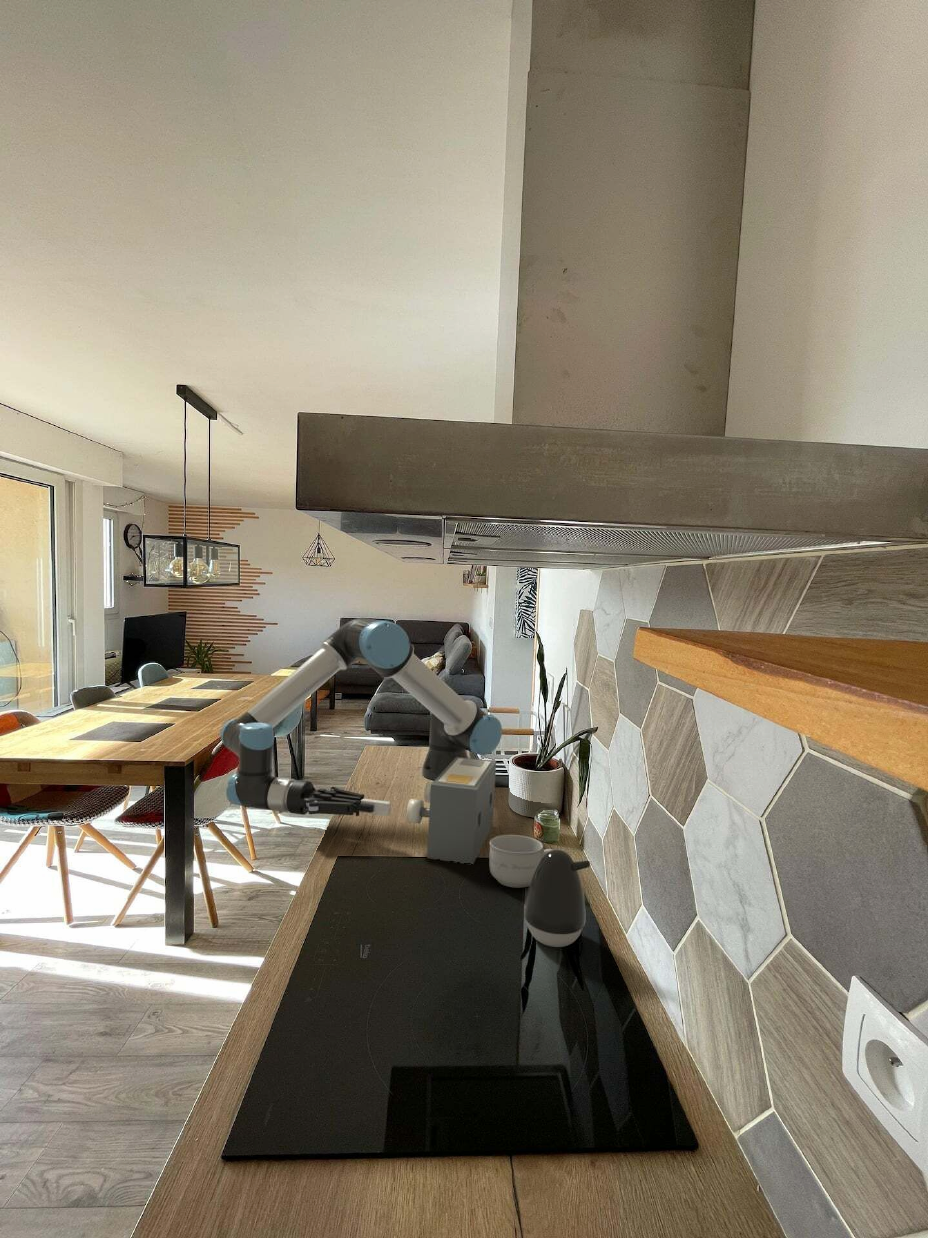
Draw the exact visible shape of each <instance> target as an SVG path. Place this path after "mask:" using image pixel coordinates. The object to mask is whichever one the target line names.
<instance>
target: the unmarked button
mask: <svg viewBox="0 0 928 1238" xmlns="http://www.w3.org/2000/svg"><path fill="white" fill-rule="evenodd" d="M433 782H434V781H431V780H428V781H427V782H426V783H425V787H424V793H423V794H424V795H423V798H424V799H423V801H424V802H425V803H428V804H430V792H431V784H432V783H433Z"/></svg>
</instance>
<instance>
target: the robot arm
mask: <svg viewBox="0 0 928 1238" xmlns="http://www.w3.org/2000/svg"><path fill="white" fill-rule="evenodd" d="M414 651H415V647H414V644H412V643H411V642H410V639H409V636H408V634H407V632H406V631H405V630H404V629H403V627H401V626H400V625H398V624H397V623H394V622H392V621H390V620H387V619H386V620H385V619H384V620H382V619H372V618H367V617H358V618H355V619H352V620H350V621H348V622H346V623H345V624H343V625H342V626H341V627H339V628H338V629H336V630H335V631H334V632H333V633H332V634H330V635H329V636H328V637H326V639H325V640H324V641H322V642H321V645H320V648H319V650H318V651H317V652H316V651H315V653H314V654H313V655H312V656H311V657H309V658H308V659H307V660H306V661H304V663H302V664H301V665H300V666H299V667H298V668H296V669H295V670H294V671H293V672H292V673H291V674H289V676H287V677H286V678H285V679H284V680H283V681H281V682H280V683H278V684H277V686H276V687H274V688H273V689H272V690H271V691H270V692H269V693H267V694H266V695H265V696H264V697H263V698H261V699H260V700H259V701H258V702H257V703H255V704H254V705H253V706H252V707H251V708H249V710H248V711H246V712H245V713H244V714H242V715H240V717H239V718H232V719H229V720H228V721H226V722H225V723H224V725H223V726H222V727H221V729H220V734H219V735H220V740H221V742H222V744H223V745H224V747H225V748H227V750H229V751H230V752H232V753H234V755H236V756H237V757H238V772H236V773H233V774H232V775H231V777H230V778H229V779H228V781H227V786H226V790H225V793H226V794H225V795H226V799H227V800H228V802H229V803H230V804H231V805H235V806H240V807H243V808H250V809H259V810H268V811H275V812H278V813H279V814H282V813H290V814H294V815H295V814H296V815H300V816H301V815H302V816H303V815H306V814H307V813H308V815H318V814H319V815H320V814H321V815H339V816H340V815H341V816H353V815H354V814H355V817H360V813H362V814H363V813H364V814H372V815H379V816H385V817H388V816H389V815H391V805H392V804H391V801H387V800H378V799H370V798H365V794H364V793H357V792H353V791H349V790H344V789H340V788H338V787H336V786H331V787H330V790H327V789H325V788H318V789H316V788H315V786H314V784H313V783H312V782H311V781H309V780H300V779H294V778H289V777H280V776H279V777H278V776H273V756H274V755H273V753H274V743H275V737H274V728H275V727H276V726H277V725H279V723H281V722H282V721H283V720H284V719H285V718H286V717H287V716H289V714H291V713H292V712H293V711H294V710H295V709H297V707H299V706H300V705H301V704H302V703H303V702H304V701H306V700H307V699H308V698H309V697H310V696H311V695H312V694H314V693H315V692H316V691H317V690H318V689H320V687H322V686H323V685H324V684H325V683H326V682H327V681H328V680H329V679H331V678H332V677H333V676H334V675H336V674H337V672H339V671H345V670H347V669H348V668H349V667H350V666H351V665H353V664H355V663H357V662H362V663H365V664H366V665H368V666H369V667H370V668H371V669H373V670H374V671H375V672H376V673H377V674H379V676H381V677H382V678H384V679H390V678H392V679H393V680H394V681H395V682H396V683H397V684H399V685H400V686H401V687H402V688H403V689H404V690H406V691H407V693H409V694H410V695H411V696H412V697H414V699H416V700H417V701H418V702H419V703H421V705H422V706H424V707H425V708H426V709H427V710H428V711H429V712H430V713H429V715H430V719H429V720H430V721H429V722H430V723H429V742H428V751H427V753H426V756H425V758H424V761H423V764H422V767H421V768H422V769H421V775H422V776H423V777H425V778H427V779H429V780H432V781H435V780H436V778H437V777H438V776H439V775H440V774H441V773H442V772H443V771H444V770H445V769H446V768H447V767H448V766H449V764H450V763H451V762H452V761H453V760H454V759H455V758H456V757H462V758H469V755H468V752H471V753H472V754H473V755H479V756H487V755H489V754H492V753H493V752H494V751H495V750H496V748H497V747H498V746H499V744H500V742H501V739H502V735H503V733H502V731H503V729H502V728H503V727H502V724H501V721H500V720H499V719H498V718H497V717H495V716H494V715H493V714H488V713H487V712H485V711H484V710H483V709H482V708H480V706H478V705H477V703H475V702H474V701H473V700H470V699H467V700H464V698H462V697H461V696H460V695H459V694H458V693H457V692H456V691H454V689H452V688H451V687H450V686H449V685H448V684H447V683H446V682H445V681H444V680H443V679H442V678H440V676H439V675H437V674H436V673H435V672H434V671H433V670H432V669H431V668H430V667H429V666H428V665H427V664H425V662H423V661H422V660H421V659H420V658H419V657H418V656H417V655H416V654H415V653H414Z"/></svg>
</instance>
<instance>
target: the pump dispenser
mask: <svg viewBox="0 0 928 1238" xmlns="http://www.w3.org/2000/svg"><path fill="white" fill-rule="evenodd" d="M589 867H591V862H590V861H589V860H588V859H587V860H579V861H574V859H573V858H572V856H571V855H570V854H569V852H567V851H566V850H563V849H559V848H558V849H557V848H556V849H553V850H551V851H549V852H547V853H546V854H545V855H544V856H543V858H542V859H541V861H540V862H539V864H538V866H537V868H536V870H535V873H534V875H533V877H532V880H531V883H530V885H529V886H528V891H527V893H526V895H527V896H526V900H525V904H524V918H525V921H526V924H527V928H528V930H529V932H530V933H531V935H532V936H533V938H534V939H535V940H537V941H538V942H539V943H541V944H542V945H545V946H548V947H551V948H552V947H553V948H562V947H567V946H569V945H571V944H573V943H574V942H575V941H576V940H577V939H578V938H579V936H580V935H581V933H582V931H583V928H584V927H585V925H586V917H587V914H586V913H587V912H586V911H587V910H586V900H585V893H584V888H583V883H582V878H581V876H580V872H579V871H581V870H585V869H587V868H589Z"/></svg>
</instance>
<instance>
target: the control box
mask: <svg viewBox="0 0 928 1238" xmlns="http://www.w3.org/2000/svg"><path fill="white" fill-rule="evenodd" d="M496 769H497V761H496V760H490V759H489V760H488V759H480V758H471V757H468V758H462V757H456V758H455V759H454V760H453V761H452V762H451V763H450V764H449V766H448V767H447V768H446V769H445V770H444V771H443V772H442V773H441V774H440V775H439V776H438V777H437V778H436V780H433V781H432V782H433V783H432V784H431V792H430V803H429V808H430V812H429V818H428V833H427V834H428V835H427V837H428V838H427V851H426V852H427V855H426V858H427V859H432V860H437V859H440V860H439V861H445V862H450V861H454V862H453V863H457V862H460V863H459V864H464V863H471V864H473V865H474V863H475V861H476V859H477V857H478V855H479V853H480V851H481V849H482V848H483V845H484V843H485V841H486V839H487V837H488V835H489V833H490V831H491V830H492V827H493V824H494V806H495V792H496V791H495V790H496ZM471 864H470V865H471Z"/></svg>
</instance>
